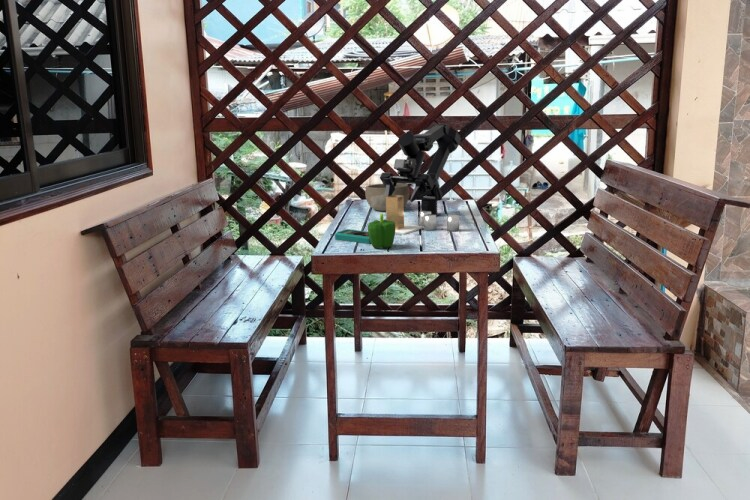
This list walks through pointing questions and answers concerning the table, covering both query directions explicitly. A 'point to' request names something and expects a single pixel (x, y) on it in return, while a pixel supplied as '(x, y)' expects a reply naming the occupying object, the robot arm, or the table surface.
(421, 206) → the robot arm
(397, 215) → the tan tall block
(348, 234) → the digital multimeter
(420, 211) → the cylinder
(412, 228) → the white mat
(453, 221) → the cylinder
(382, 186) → the bowl
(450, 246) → the table surface
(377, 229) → the bell pepper
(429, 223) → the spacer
